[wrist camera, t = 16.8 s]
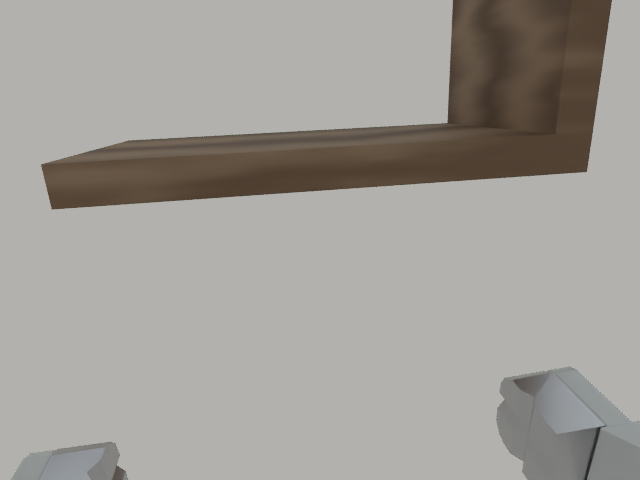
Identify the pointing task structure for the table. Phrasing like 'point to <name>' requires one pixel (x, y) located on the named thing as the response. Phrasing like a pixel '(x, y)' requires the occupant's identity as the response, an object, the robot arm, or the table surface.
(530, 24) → the walnut stand
